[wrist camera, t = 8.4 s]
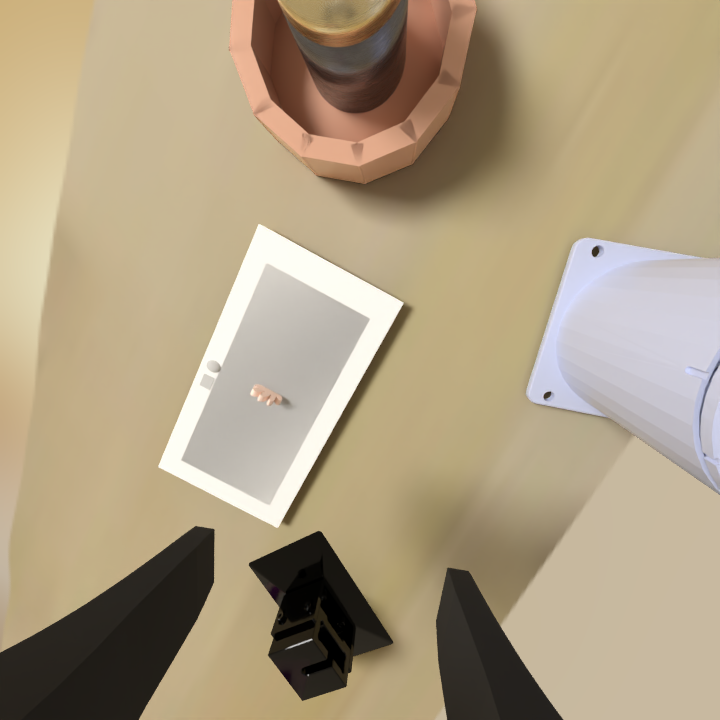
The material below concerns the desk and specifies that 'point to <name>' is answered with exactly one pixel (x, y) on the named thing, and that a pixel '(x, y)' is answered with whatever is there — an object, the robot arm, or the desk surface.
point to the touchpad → (276, 376)
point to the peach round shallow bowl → (341, 129)
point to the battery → (351, 48)
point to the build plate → (316, 616)
